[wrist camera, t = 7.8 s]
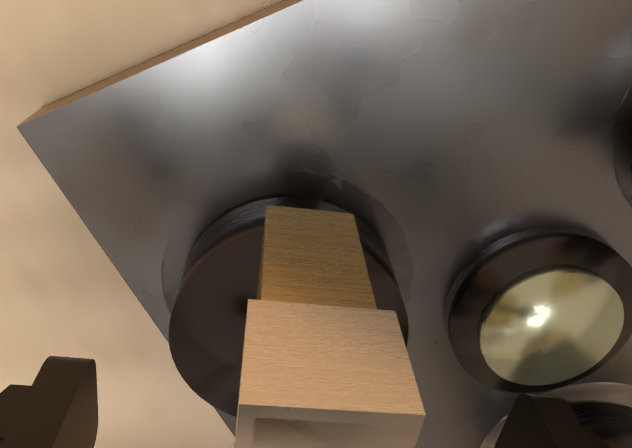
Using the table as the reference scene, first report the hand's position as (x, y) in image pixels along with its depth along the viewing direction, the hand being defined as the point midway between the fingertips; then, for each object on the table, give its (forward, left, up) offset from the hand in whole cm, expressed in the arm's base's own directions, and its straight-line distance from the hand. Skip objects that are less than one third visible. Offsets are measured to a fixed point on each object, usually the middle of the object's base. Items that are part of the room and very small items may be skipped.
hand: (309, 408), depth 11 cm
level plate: (-4, -6, -6) cm, 9 cm away
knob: (0, +1, -5) cm, 5 cm away
